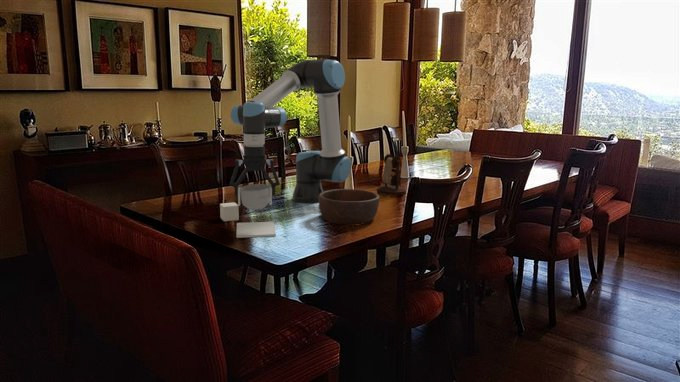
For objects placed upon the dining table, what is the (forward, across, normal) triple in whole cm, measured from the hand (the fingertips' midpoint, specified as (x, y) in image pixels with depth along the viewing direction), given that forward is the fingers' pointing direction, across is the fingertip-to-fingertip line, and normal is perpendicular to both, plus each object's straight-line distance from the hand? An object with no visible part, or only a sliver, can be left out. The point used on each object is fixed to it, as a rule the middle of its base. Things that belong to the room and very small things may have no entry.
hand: (255, 204), depth 191 cm
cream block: (+10, -10, +18) cm, 23 cm away
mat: (+10, 0, 0) cm, 10 cm away
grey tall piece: (+10, +69, +56) cm, 90 cm away
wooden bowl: (+10, +38, +12) cm, 41 cm away
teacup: (+1, +1, 0) cm, 1 cm away
